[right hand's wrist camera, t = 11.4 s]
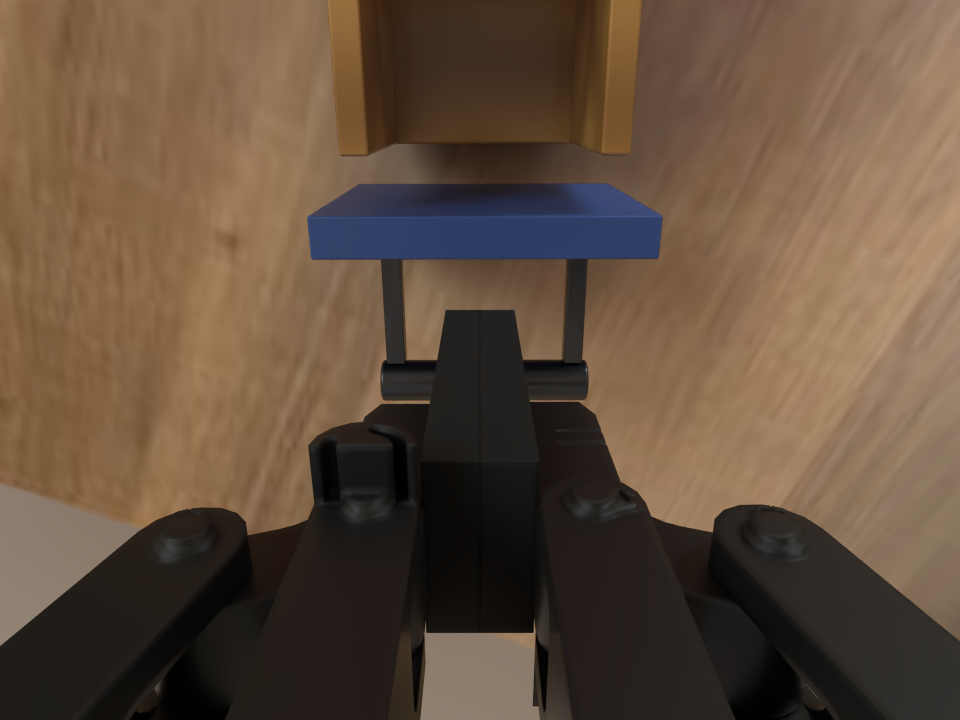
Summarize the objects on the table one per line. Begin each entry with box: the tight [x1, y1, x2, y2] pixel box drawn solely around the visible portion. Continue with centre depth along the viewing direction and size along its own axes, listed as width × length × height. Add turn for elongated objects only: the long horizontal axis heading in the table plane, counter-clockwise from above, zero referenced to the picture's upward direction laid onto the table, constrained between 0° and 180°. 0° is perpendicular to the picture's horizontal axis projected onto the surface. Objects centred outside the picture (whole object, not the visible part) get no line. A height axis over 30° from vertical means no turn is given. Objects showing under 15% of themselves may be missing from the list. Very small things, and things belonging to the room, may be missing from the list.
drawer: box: [307, 0, 663, 401], centre depth 19 cm, size 24×10×8 cm, turn 0°
